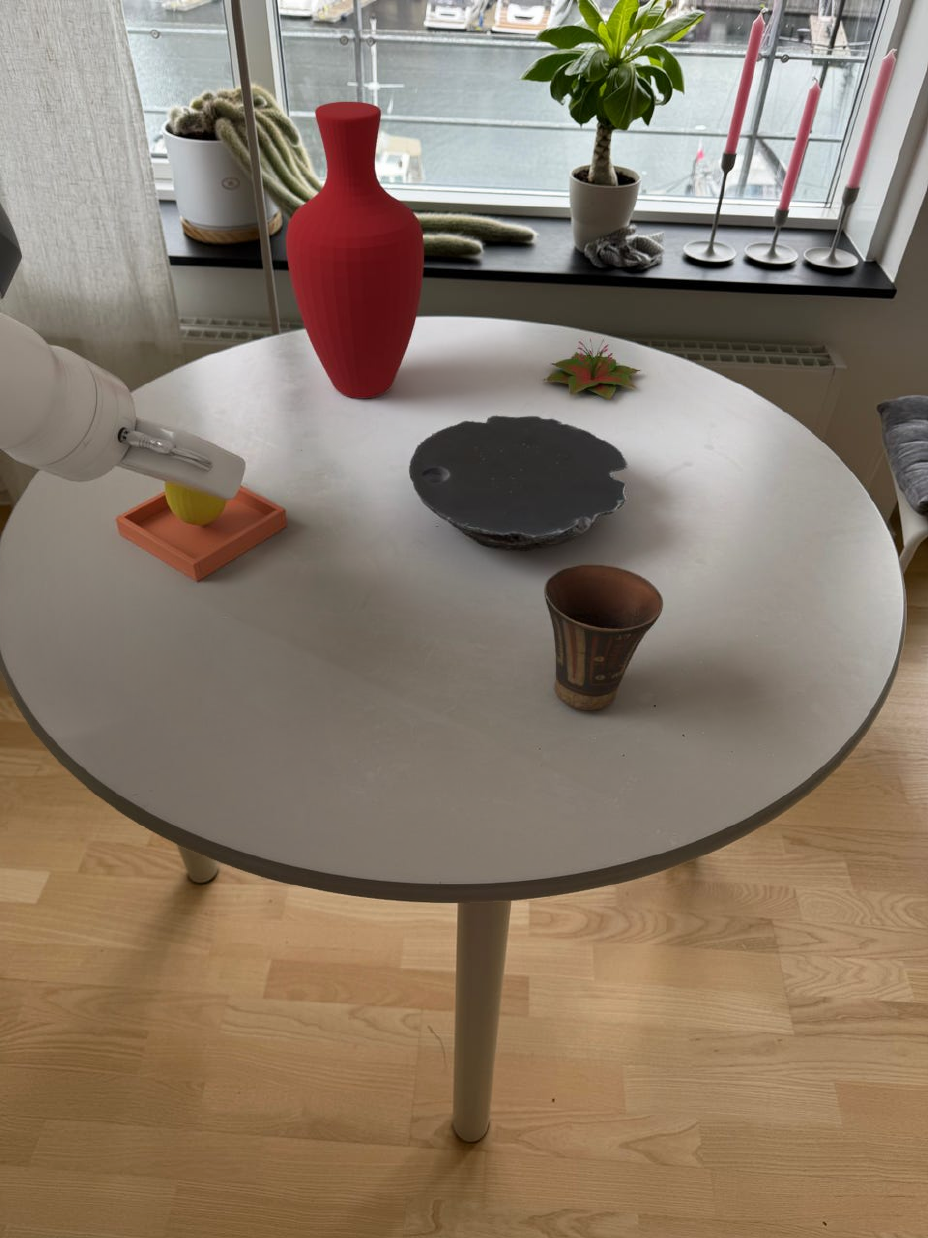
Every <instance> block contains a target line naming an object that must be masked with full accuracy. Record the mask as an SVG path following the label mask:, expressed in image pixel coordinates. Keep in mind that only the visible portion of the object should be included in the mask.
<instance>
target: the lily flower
mask: <svg viewBox="0 0 928 1238" xmlns="http://www.w3.org/2000/svg"><path fill="white" fill-rule="evenodd" d="M604 341H605V338H604V339H603V340H602V341H601V343H600V346H599V347H598V350H597V352H596V355H595V356H593V354H594V349H593V348H591V349H589V350H588V348H587V347H586V346H585V345H584V343H583V342H582V341H580V340H579V341H578V343H579V344H580V345H581V346H583V347H584V349H585V350H584V349H583V348H582V347H579V346H578V347H577V350H580V351H582V352H583V353H582V352H577V351H576V352H575V353H574V354H573V355H572V356H571V358H566V359H563V360H559V361H556V362H553V363H550V365H552V366H555V367H557V368H559V369H560V370H557V371H554V372H552V373H551V374H549V376H547V377H546V378H543V379H542V381H546V382H554V383H561V384H566V385H568V389H569V391H570V392H569V397H571V396H573V395H574V394H575V395H576V394H577V393H579V392H580V391H583V390H585V389H586V390H588V391H590V392H592V393H595V394H597V395H599V396H600V397H603V398H605V399H606V400H609V401H611V399H612V397H613V395H614V394H615V392H616V385H620V386H624V387H628V388H633V389H638V388H637V386H635V385H634V383H633V382H632V380H631V378H630V377H631V376H632V375H634V374H637V373H638V372H641V371H642V369H637V368H634V367H630V366H628V365H622V364H621V365H619V364H618V365H617V360H616V359H615V358H613V357H612V356H613V355H614V353H613V352H611V353H609V354H608V356H603V354H604V353H606V352H608V351H609V348H608V347H609V345H610V344H609V343H608V344H606V345H604V347H603V349H601V351H600V348H601V346H602V344H603V343H604ZM589 342H590V346H591V347H593V345H592V339H591V338H589Z"/></svg>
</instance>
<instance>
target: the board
mask: <svg viewBox="0 0 928 1238" xmlns="http://www.w3.org/2000/svg"><path fill="white" fill-rule="evenodd" d="M628 467H629V466H628V462H627V459H626V458H625V455H624V452H623V451H620V449H619V448H618V447H617V446H616V445H615V444H612V443H610V442H609V441H607V440H605V439H601V438H599V437H597V436H596V435H594V433H592V432H590V431H589V430H585V429H582V428H579V427H577V426H575V425H572V424H568V423H562V422H561V421H560V420H558V419H554V418H542V417H540V416H538V415H527V416H526V415H525V416H509V415H497V414H495V415H491V416H490V417H487V418H486V421H485V422H482V421H474V420H463V421H460V422H459V423H457V424H454V425H450V426H447V427H446V428H442V429H441V430H437V431H436V432H432V434H431V435H430V436H428V437H426V438H425V439H424V440H423V441H421V442H419V444H417V446H416V448H415V451H414V452H413V454H412V456H411V458H410V461H409V467H408V473H409V478H410V480H411V482H412V486H413V488H414V490H415V492H416V494H417V496H418V497H419V499H420V500H421V502H422V503H423V504H424V505H425V507H427V508H428V509H429V510H430V511H432V513H434V514H435V515H436V516H438V517H439V518H441V519H442V520H443V521H446V522H447V523H449V524H451V525H452V526H453V527H454V528H455V529H457V530H458V531H460V532H461V534H463V535H464V536H467V537H469V538H470V539H471V540H473V541H475V542H476V543H477V544H479V545H481V546H483V547H484V546H485V547H488V548H495V549H504V550H519V551H524V552H525V551H529V550H534V549H536V547H537V548H539V547H544V546H545V547H548V546H551V545H553V544H554V545H558V544H561V543H564V542H567V541H569V540H571V539H572V538H574V537H576V536H580V535H581V536H582V534H584V533H585V532H586V531H588V530H589V529H591V528H592V526H593V524H594V522H595V519H596V517H601V516H606V515H607V516H608V515H609V516H610V515H613V514H614V513H615V512H616V511H617V510H618V509H620V508H621V507H623V505H624V504H625V503H626V502H627V501H628V497H627V496H626V494H625V493H626V490H627V489H626V488H627V484H626V482H623V481H620V480H618V479H615V478H614V477H613V476H612V475H611V474H612V473H615V472H620V471H624V470H626V469H628Z"/></svg>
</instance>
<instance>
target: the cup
mask: <svg viewBox="0 0 928 1238" xmlns="http://www.w3.org/2000/svg"><path fill="white" fill-rule="evenodd" d="M543 591H544V592H543V594H544V599H545V602H546V606H547V610H548V613H549V615H550V620H551V625H552V631H553V639H554V651H555V654H554V655H555V679H554V687H553V689H554V693H555V695H556V697H557V698H558V699H559V700H561V701H562V702H563V703H565V704H566V705H568V706H570V707H572V708H575V709H579V710H583V711H595V710H600V709H603V708H606V707H608V706H609V705H611V704H612V703H613V701H614V700H615V698H616V695H617V692H618V688H619V686H620V684H621V682H622V679H623V678H624V675H625V673H626V670H627V669H628V666H629V665H630V662H631V661H632V658H633V656H634V654H635V653H636V650H637V649H638V646H639V645H640V643H641V642H642V640H643V638H644V637H645V635H646V634H647V633H648V631H649V630H650V629H651V628H652V627H653V626H654V625H655V624H656V622H657V620H658V619H659V618H660V616H661V614H662V611H663V608H664V599H663V596H662V594H661V592H660V591H659V589H658V588H657V587H656V586H655V585H654V584H652V582H650V581H649V580H647V579H646V578H644V577H643V576H641V575H639V574H637V573H635V572H633V571H630V570H627V569H624V568H621V567H617V566H613V565H606V564H605V565H604V564H594V563H585V564H584V563H583V564H580V563H579V564H576V565H571V566H570V565H569V566H567V567H563V568H561V569H559V570H556V572H554V573H553V574H551V576H550V577H549V578H548V579H547V580H546V582H545V585H544V588H543Z"/></svg>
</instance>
